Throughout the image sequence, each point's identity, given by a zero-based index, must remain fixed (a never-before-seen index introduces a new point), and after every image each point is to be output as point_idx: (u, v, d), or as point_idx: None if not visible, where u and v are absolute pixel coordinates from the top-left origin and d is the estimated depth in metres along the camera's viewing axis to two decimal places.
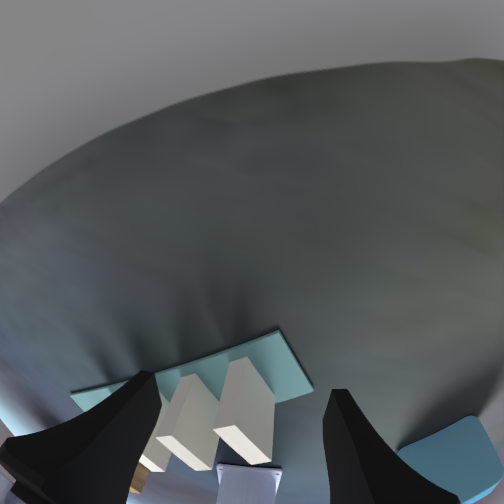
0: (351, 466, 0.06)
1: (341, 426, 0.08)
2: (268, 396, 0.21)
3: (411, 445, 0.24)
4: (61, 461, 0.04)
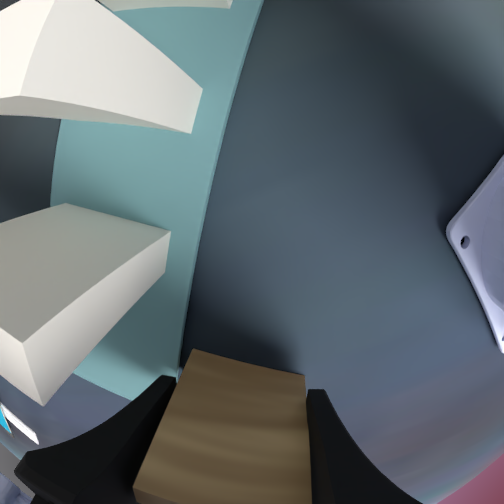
0: (321, 468, 0.06)
1: (314, 427, 0.08)
2: None
3: None
4: (89, 475, 0.04)
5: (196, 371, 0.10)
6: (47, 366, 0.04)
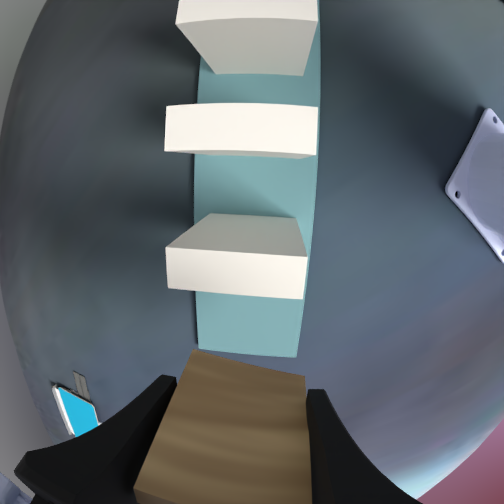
0: (321, 468, 0.06)
1: (314, 427, 0.08)
2: None
3: None
4: (89, 475, 0.04)
5: (196, 372, 0.10)
6: None
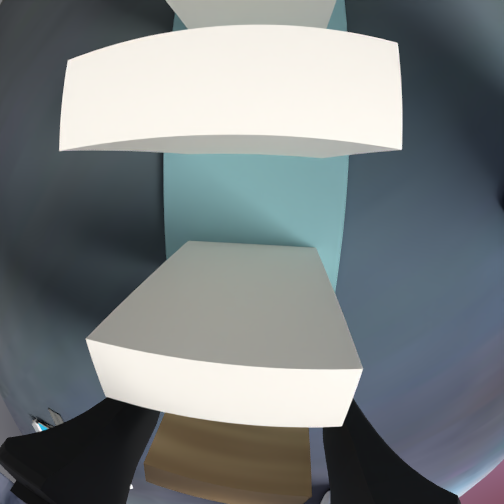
0: (351, 466, 0.06)
1: (341, 426, 0.08)
2: None
3: None
4: (61, 461, 0.04)
5: None
6: None
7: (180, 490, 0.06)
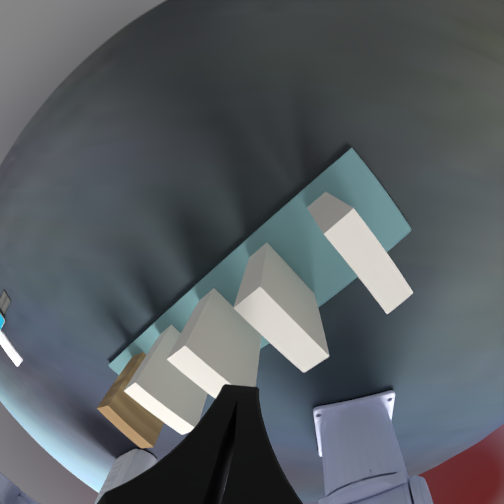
0: None
1: None
2: None
3: None
4: None
5: None
6: None
7: (108, 418, 0.16)
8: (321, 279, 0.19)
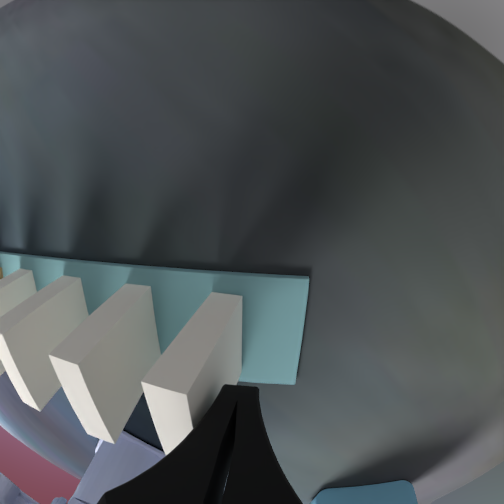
0: None
1: None
2: (236, 368, 0.14)
3: (337, 489, 0.21)
4: None
5: None
6: None
7: None
8: None
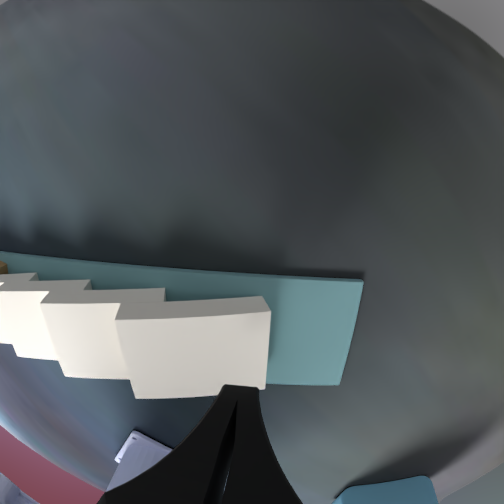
0: None
1: None
2: (245, 377, 0.14)
3: (361, 487, 0.20)
4: None
5: None
6: None
7: None
8: None
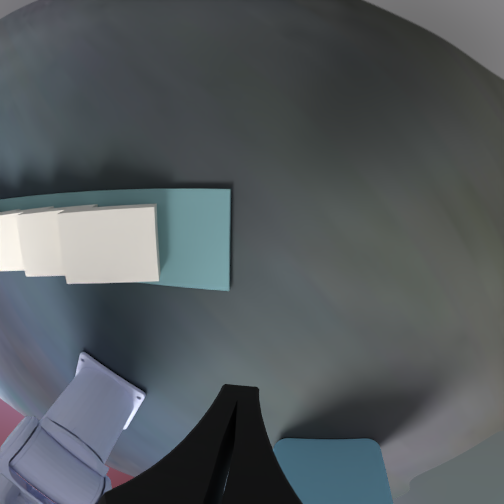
0: None
1: None
2: (141, 266, 0.18)
3: (297, 440, 0.25)
4: None
5: None
6: None
7: None
8: None
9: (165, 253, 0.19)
